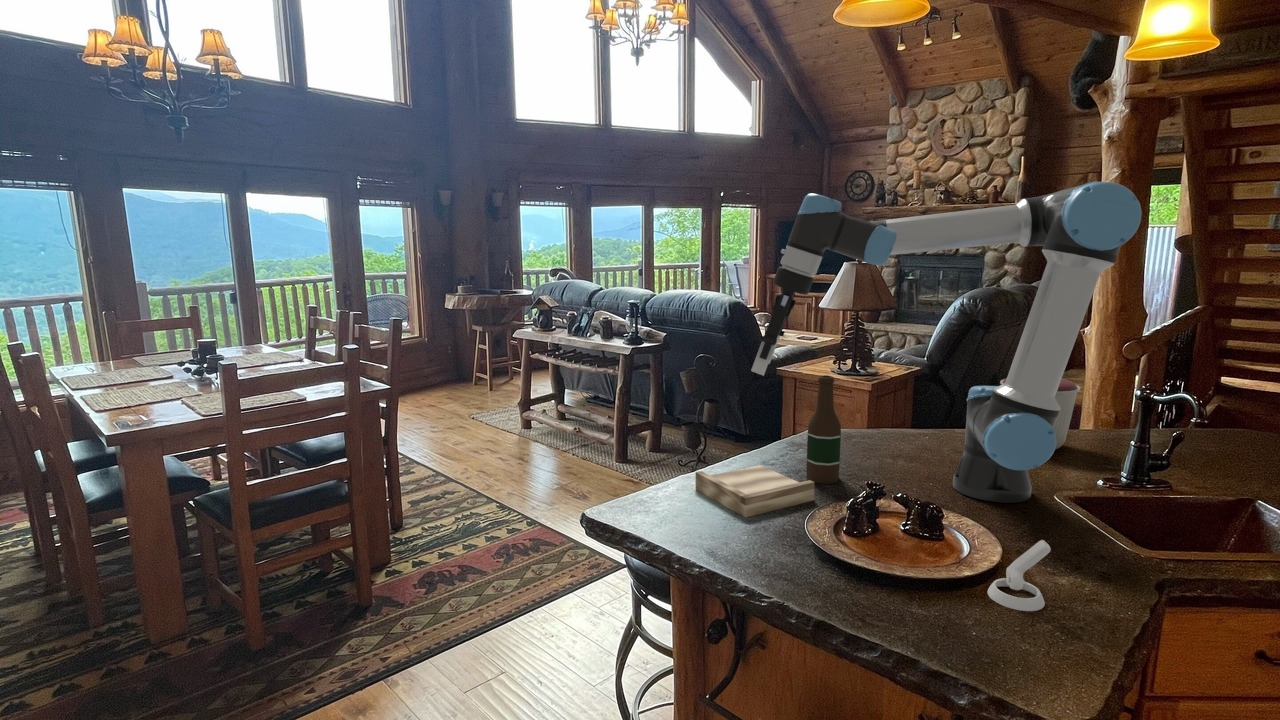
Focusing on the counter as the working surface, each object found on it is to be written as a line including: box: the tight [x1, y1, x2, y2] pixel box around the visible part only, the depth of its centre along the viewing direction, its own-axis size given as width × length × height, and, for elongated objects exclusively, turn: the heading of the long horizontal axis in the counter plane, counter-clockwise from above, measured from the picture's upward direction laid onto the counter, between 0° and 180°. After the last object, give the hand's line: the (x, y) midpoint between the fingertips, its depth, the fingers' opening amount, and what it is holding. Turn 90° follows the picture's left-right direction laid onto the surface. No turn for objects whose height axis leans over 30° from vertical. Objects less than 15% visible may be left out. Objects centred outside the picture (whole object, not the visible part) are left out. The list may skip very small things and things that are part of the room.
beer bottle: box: [805, 374, 842, 485], centre depth 153 cm, size 8×8×24 cm
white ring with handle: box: [987, 539, 1052, 612], centre depth 102 cm, size 8×12×7 cm
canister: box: [999, 377, 1082, 450], centre depth 177 cm, size 18×18×21 cm
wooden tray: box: [695, 464, 816, 518], centre depth 146 cm, size 18×18×4 cm
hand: (760, 367), depth 143 cm, fingers open, 13 cm apart
